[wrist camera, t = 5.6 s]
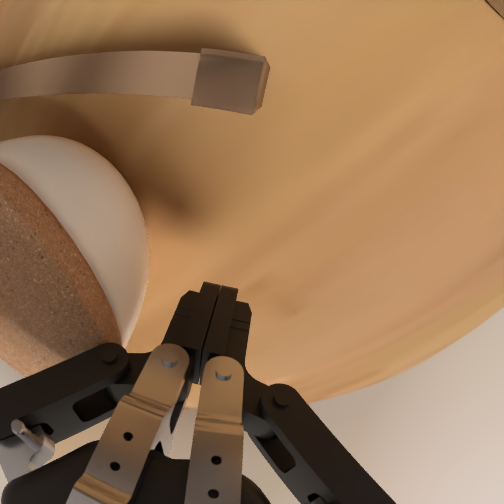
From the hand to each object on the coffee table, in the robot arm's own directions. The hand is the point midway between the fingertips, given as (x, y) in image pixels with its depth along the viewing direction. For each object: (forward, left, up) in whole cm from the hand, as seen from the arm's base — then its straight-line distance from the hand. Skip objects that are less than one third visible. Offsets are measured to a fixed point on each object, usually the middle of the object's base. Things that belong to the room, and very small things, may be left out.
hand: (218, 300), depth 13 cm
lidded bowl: (+9, 0, -5) cm, 10 cm away
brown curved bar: (+12, -9, -5) cm, 16 cm away
